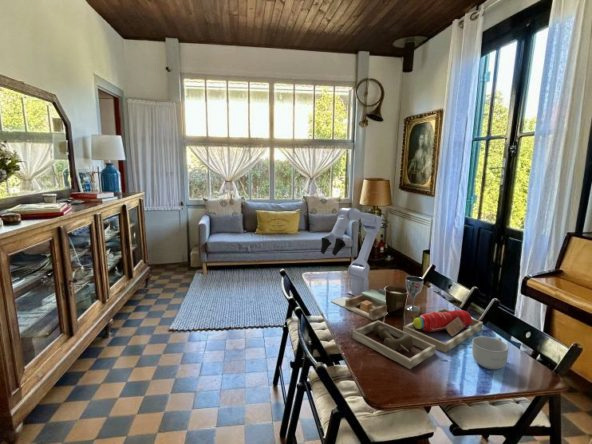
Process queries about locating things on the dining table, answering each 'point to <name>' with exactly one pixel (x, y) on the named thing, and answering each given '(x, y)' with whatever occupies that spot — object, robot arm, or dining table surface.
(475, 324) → the bottle frame
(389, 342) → the kendama
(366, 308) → the wooden block
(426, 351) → the frame
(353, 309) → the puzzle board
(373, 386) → the dining table surface
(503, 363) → the teacup
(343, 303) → the mat
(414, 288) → the wine glass
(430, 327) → the water bottle
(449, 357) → the dining table surface
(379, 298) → the slide cover
